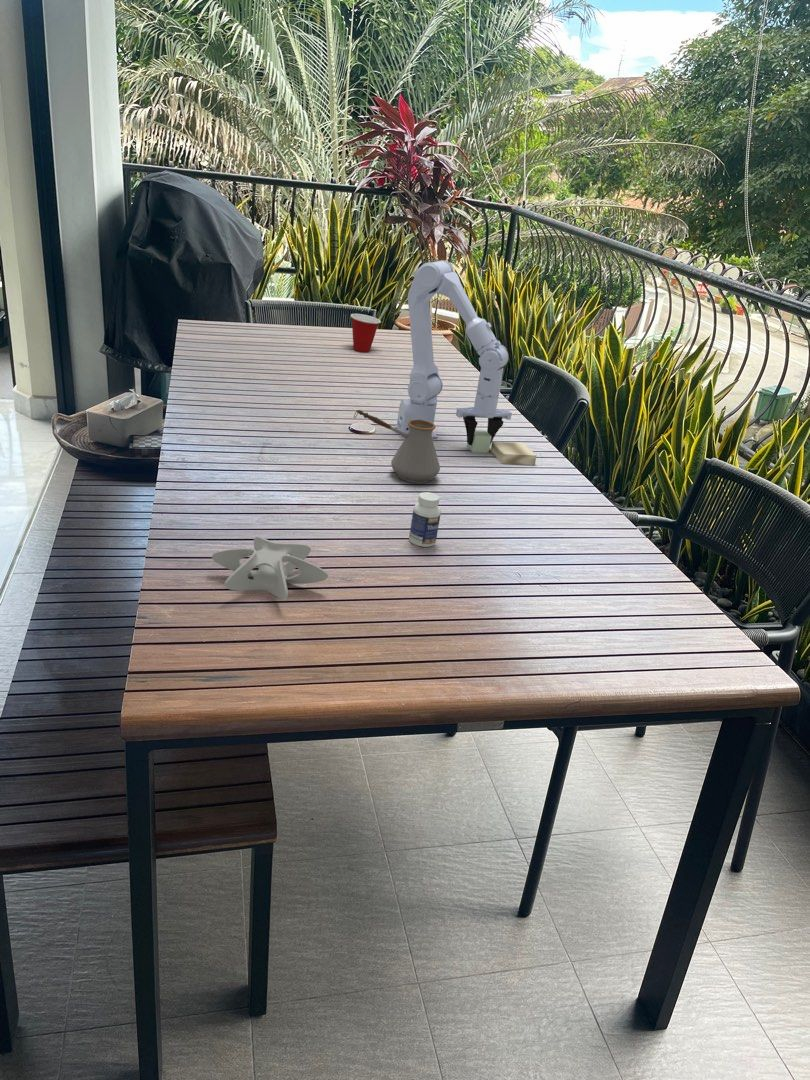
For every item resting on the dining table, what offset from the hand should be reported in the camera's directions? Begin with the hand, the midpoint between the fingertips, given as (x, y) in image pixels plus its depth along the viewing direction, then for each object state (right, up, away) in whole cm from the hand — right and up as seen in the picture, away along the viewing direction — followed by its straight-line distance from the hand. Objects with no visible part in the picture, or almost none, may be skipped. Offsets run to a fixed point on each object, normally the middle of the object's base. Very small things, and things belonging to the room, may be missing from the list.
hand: (478, 444), depth 218 cm
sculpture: (-42, -32, -76) cm, 93 cm away
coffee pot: (-22, -10, -24) cm, 34 cm away
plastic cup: (-34, +42, +81) cm, 97 cm away
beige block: (+9, -4, -1) cm, 10 cm away
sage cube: (0, -1, +1) cm, 1 cm away
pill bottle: (-16, -25, -54) cm, 61 cm away
